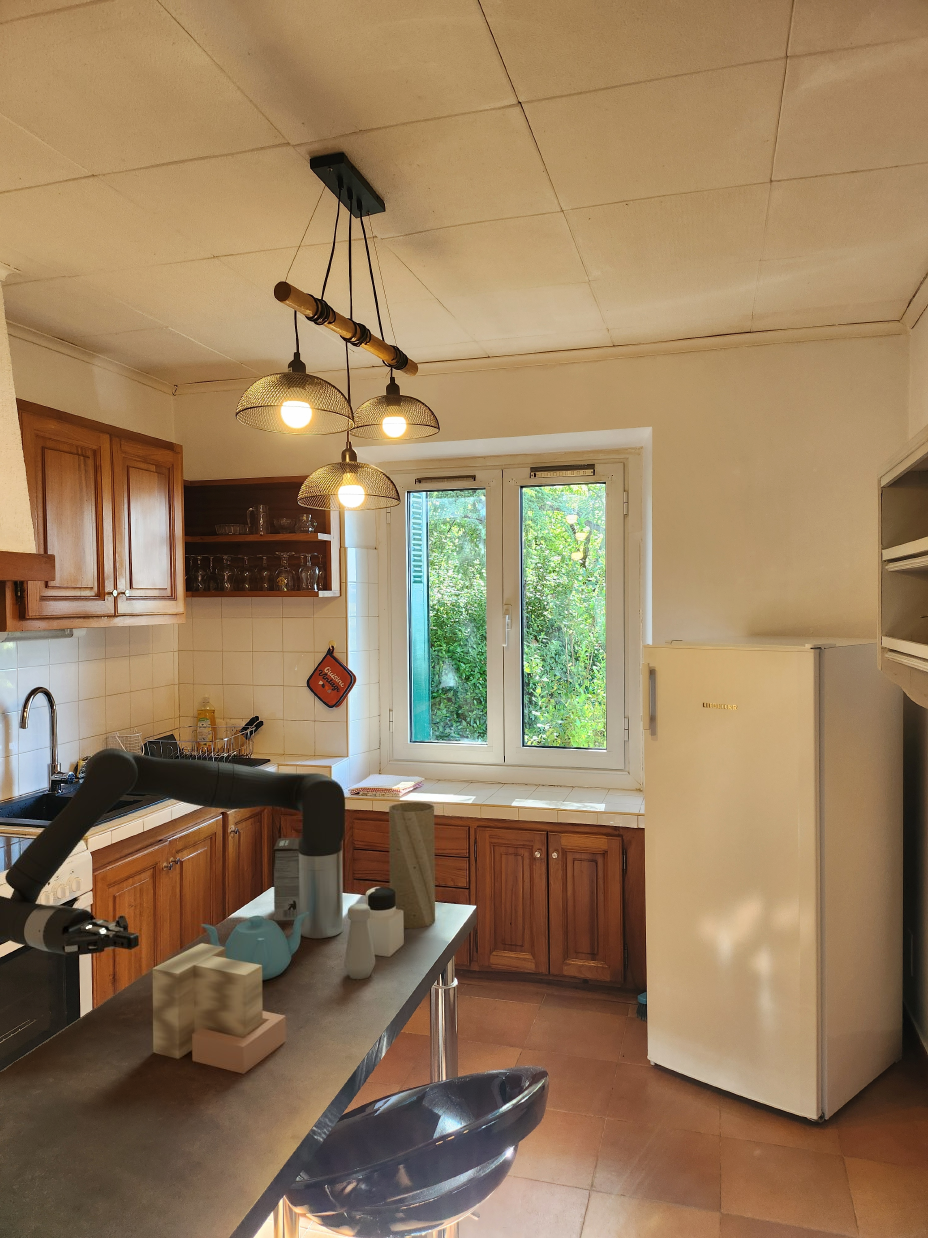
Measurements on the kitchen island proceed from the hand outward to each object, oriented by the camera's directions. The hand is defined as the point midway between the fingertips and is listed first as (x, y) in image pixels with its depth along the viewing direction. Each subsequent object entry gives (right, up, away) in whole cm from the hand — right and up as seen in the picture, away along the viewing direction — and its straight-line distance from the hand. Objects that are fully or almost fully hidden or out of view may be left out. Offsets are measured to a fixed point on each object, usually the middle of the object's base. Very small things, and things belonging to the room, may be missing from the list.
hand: (135, 942), depth 140 cm
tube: (+43, -13, +47) cm, 65 cm away
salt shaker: (+35, -13, +19) cm, 42 cm away
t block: (+15, -14, -7) cm, 22 cm away
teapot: (+15, -14, +20) cm, 29 cm away
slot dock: (+19, -13, -9) cm, 25 cm away
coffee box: (+15, -14, +52) cm, 56 cm away
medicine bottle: (+38, -13, +31) cm, 51 cm away
